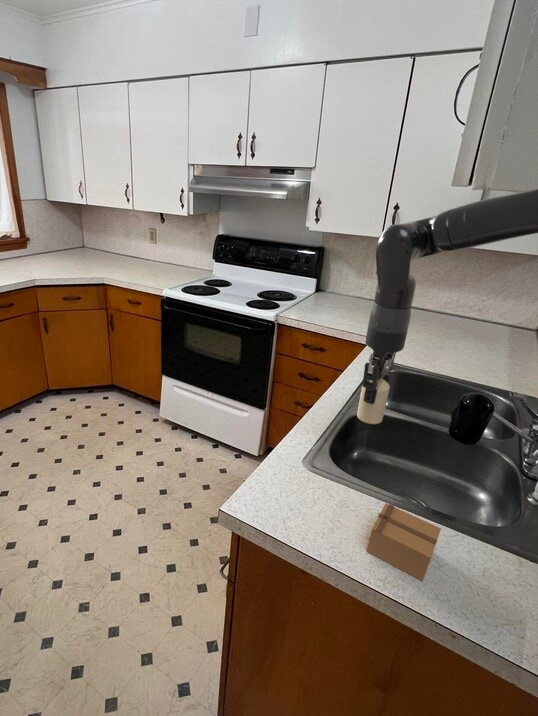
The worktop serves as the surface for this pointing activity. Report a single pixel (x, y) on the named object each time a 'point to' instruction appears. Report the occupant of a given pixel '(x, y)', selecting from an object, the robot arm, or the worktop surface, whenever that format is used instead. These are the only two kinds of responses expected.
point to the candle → (376, 410)
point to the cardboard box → (403, 541)
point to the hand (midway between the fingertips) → (373, 396)
